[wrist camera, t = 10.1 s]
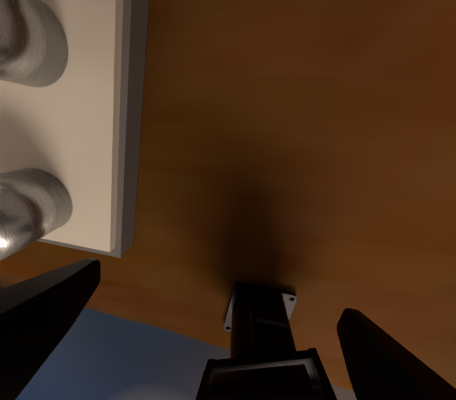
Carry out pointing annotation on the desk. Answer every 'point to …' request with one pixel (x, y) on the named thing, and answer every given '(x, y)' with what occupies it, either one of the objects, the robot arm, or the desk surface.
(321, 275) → the desk surface
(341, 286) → the desk surface
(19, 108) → the scale
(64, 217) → the cylinder
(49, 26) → the cylinder
